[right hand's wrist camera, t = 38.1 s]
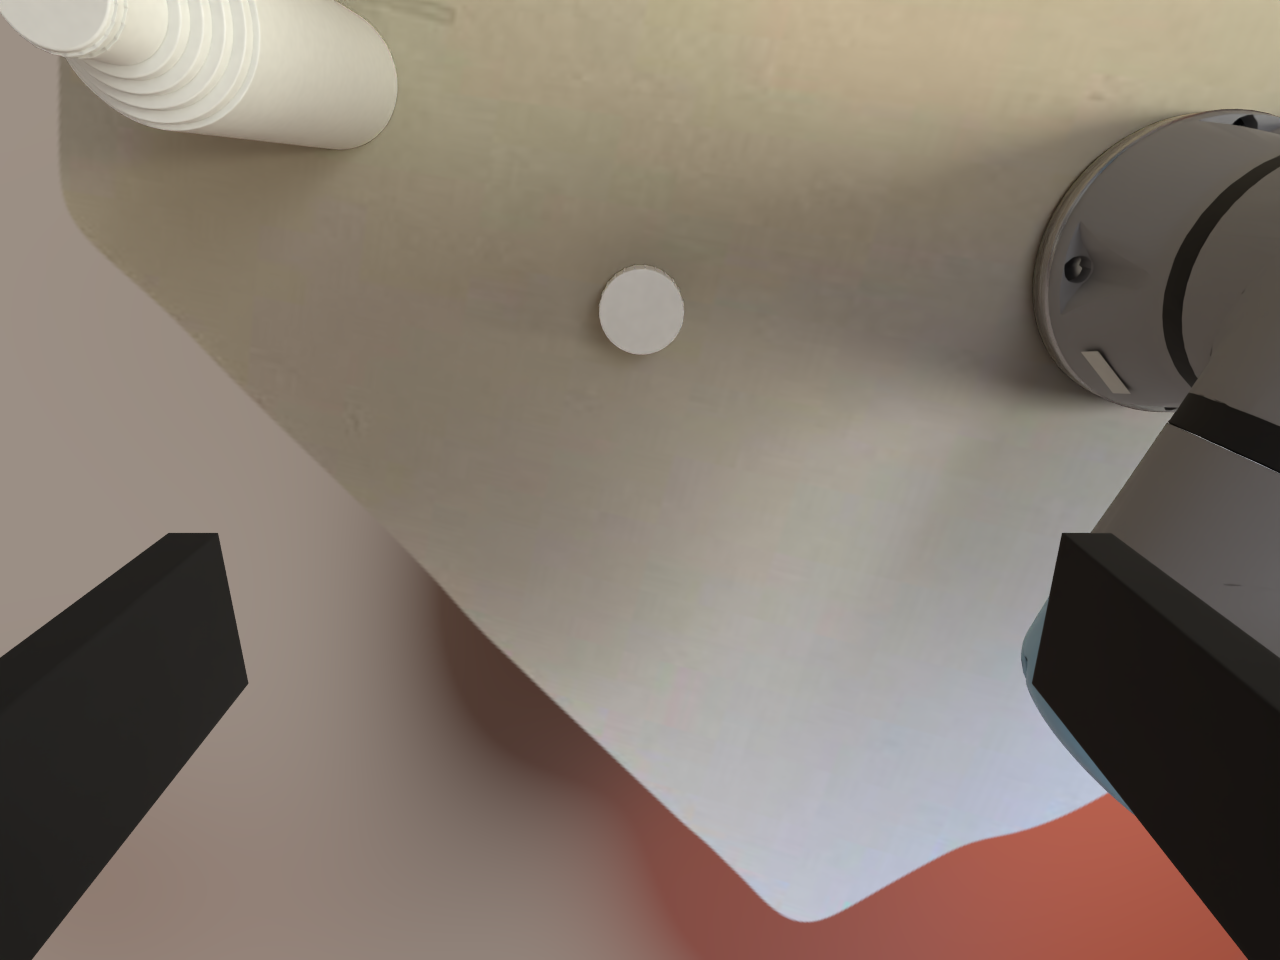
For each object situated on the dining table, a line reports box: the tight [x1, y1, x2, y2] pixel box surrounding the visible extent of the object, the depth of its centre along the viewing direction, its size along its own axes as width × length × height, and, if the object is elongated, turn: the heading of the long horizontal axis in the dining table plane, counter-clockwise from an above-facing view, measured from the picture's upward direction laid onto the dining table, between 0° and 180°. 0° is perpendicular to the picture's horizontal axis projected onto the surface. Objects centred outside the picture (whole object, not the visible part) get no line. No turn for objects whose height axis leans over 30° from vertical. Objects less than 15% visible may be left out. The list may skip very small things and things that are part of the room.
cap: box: [599, 264, 685, 355], centre depth 43 cm, size 5×5×2 cm
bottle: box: [0, 0, 398, 150], centre depth 30 cm, size 7×7×20 cm
